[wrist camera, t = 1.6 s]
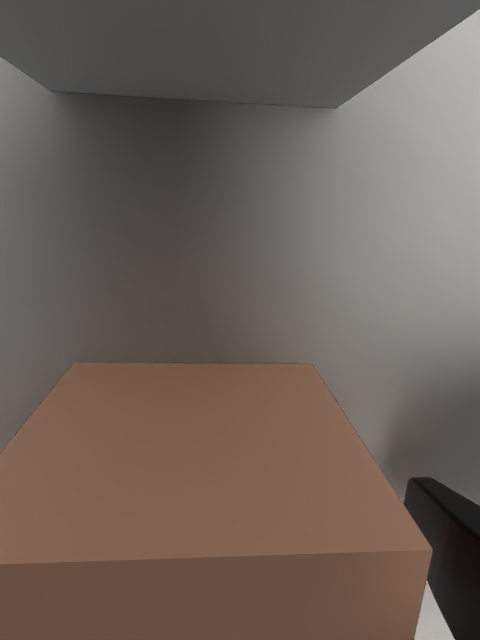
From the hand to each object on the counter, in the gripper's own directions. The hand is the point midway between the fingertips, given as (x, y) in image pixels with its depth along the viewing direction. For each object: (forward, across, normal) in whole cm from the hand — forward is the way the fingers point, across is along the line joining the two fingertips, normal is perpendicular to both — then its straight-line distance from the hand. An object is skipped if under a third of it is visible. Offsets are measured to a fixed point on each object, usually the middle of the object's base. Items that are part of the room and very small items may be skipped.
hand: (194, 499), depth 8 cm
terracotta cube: (+1, 0, 0) cm, 1 cm away
